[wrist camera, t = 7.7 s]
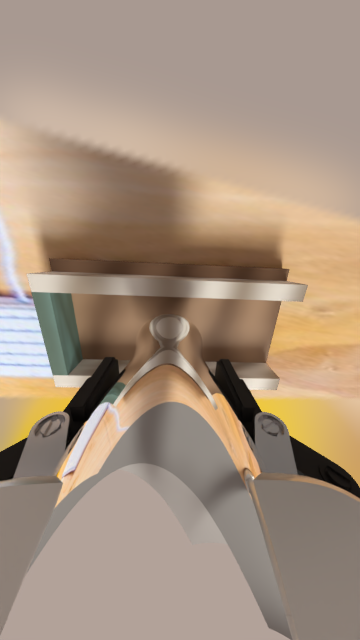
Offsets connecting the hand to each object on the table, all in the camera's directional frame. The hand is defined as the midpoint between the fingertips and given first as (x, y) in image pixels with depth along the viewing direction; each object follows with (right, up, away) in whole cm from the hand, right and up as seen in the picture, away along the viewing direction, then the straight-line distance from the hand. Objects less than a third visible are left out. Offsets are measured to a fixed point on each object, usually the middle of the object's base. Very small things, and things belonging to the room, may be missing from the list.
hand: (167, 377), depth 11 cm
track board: (0, +3, +9) cm, 10 cm away
